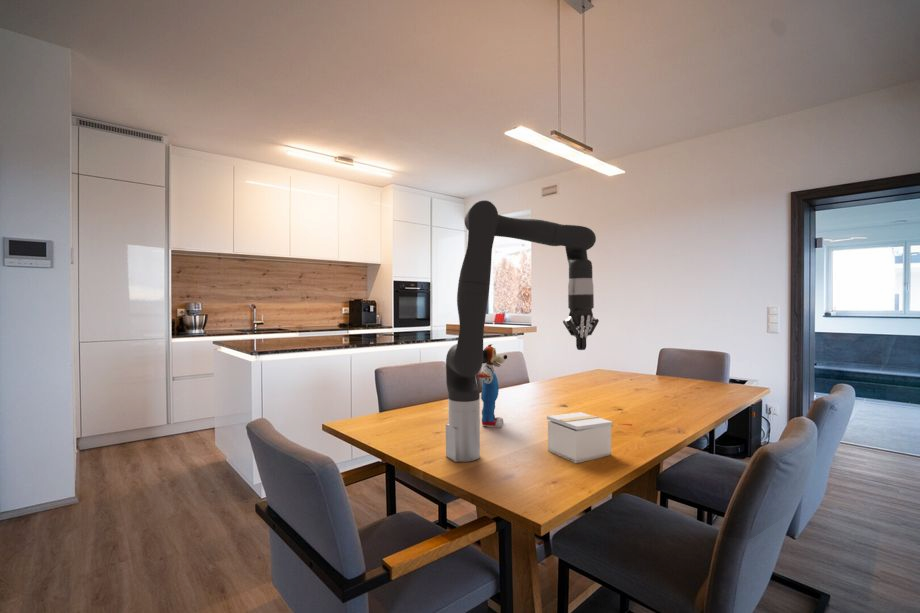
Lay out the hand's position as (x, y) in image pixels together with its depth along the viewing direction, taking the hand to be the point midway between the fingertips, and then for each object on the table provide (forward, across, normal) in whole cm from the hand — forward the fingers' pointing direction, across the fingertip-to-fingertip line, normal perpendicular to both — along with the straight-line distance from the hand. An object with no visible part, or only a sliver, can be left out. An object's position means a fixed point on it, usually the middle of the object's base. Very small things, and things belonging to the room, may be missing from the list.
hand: (581, 349), depth 132 cm
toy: (+31, -9, +36) cm, 49 cm away
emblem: (+32, +23, +12) cm, 41 cm away
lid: (+22, -3, -2) cm, 22 cm away
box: (+31, -3, -2) cm, 31 cm away
